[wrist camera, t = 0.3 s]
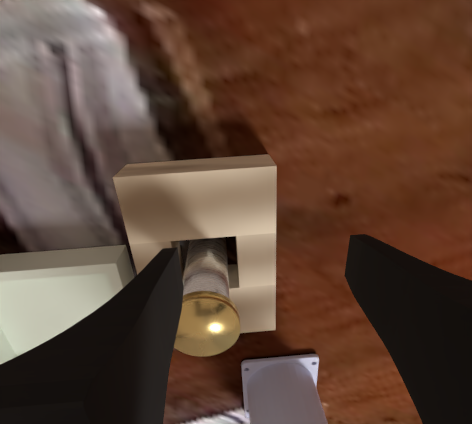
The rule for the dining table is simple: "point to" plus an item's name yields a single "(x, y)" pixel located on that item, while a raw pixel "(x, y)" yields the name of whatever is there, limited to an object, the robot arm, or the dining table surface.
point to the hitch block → (209, 220)
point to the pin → (207, 301)
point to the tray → (55, 292)
